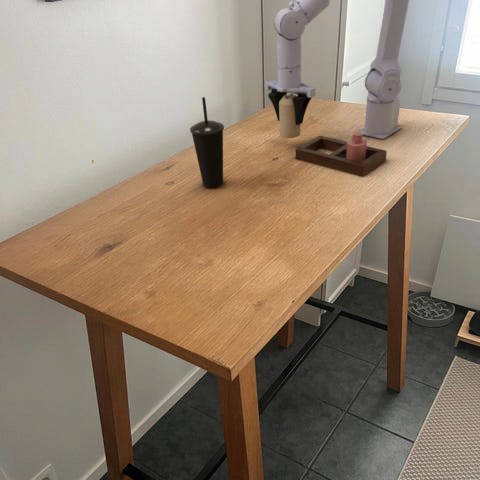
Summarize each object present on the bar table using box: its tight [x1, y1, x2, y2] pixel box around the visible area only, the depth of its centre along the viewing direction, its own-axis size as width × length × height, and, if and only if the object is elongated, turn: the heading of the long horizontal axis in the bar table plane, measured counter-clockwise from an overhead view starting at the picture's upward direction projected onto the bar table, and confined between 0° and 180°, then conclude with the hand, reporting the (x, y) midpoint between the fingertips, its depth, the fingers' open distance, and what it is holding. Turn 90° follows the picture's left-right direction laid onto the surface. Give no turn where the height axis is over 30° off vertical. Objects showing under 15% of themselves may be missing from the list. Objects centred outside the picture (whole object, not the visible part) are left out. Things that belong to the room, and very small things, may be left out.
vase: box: [346, 131, 368, 162], centre depth 122 cm, size 5×5×8 cm
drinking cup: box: [189, 96, 225, 190], centre depth 115 cm, size 8×8×20 cm
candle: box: [278, 93, 302, 139], centre depth 132 cm, size 6×6×10 cm
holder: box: [295, 135, 388, 177], centre depth 126 cm, size 11×20×3 cm, turn 48°
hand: (289, 121), depth 133 cm, fingers closed on candle, 5 cm apart
